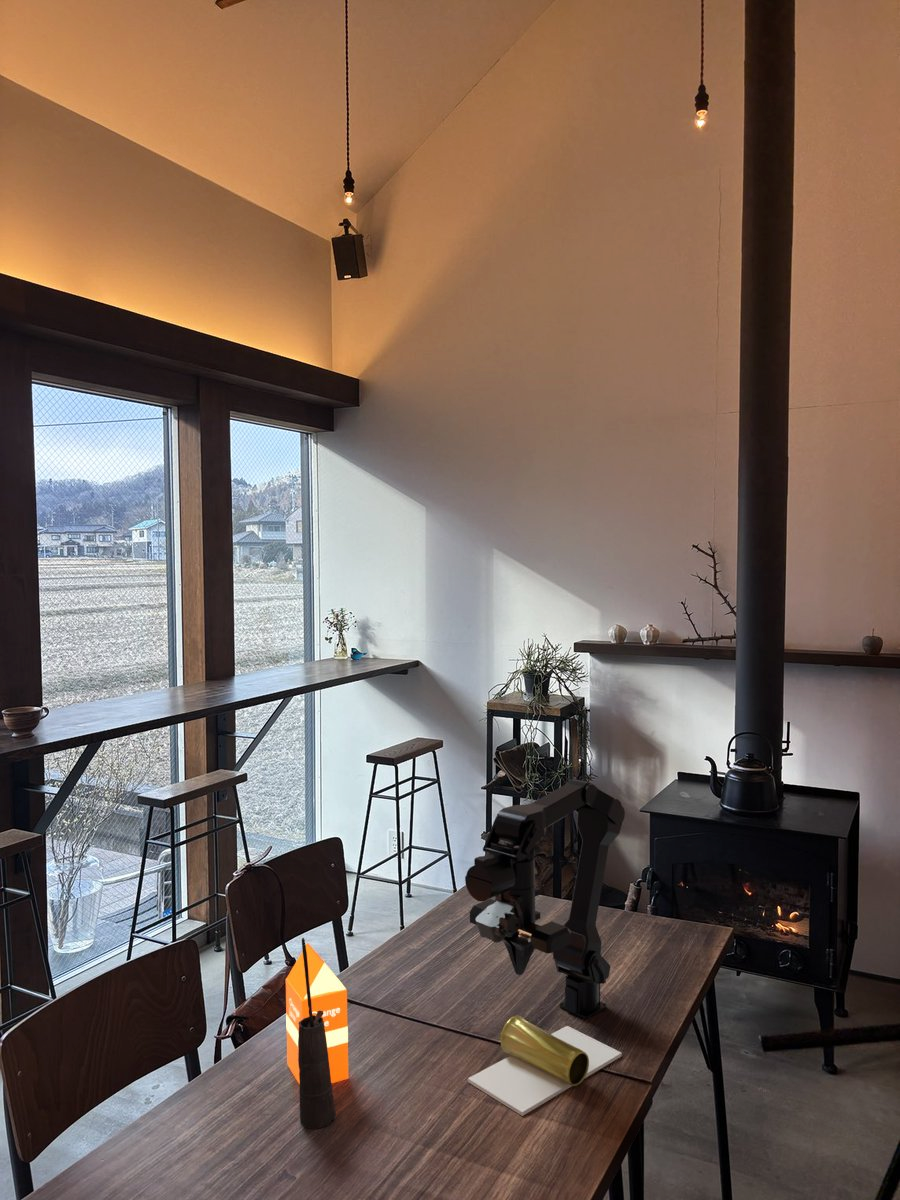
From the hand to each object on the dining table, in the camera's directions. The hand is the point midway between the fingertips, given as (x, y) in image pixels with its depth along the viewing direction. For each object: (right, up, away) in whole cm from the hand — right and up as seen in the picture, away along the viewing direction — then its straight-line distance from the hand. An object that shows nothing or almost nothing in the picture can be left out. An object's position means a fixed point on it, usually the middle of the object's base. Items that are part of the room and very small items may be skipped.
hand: (519, 974), depth 152 cm
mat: (+4, -13, -6) cm, 15 cm away
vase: (-2, -10, -1) cm, 10 cm away
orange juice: (-34, -14, -6) cm, 37 cm away
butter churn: (-31, -14, -17) cm, 39 cm away
